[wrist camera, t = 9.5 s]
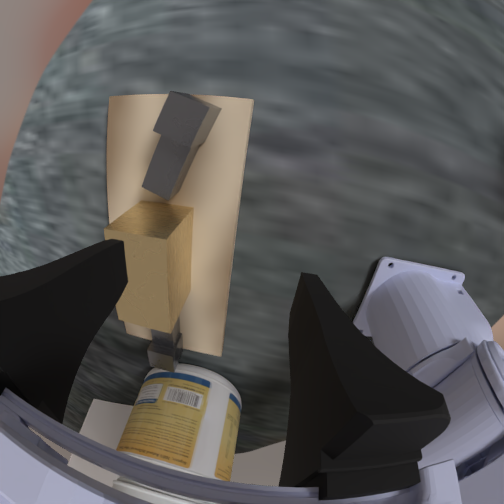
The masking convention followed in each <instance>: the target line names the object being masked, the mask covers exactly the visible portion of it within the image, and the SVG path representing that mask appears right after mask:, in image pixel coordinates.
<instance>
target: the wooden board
mask: <svg viewBox="0 0 504 504" xmlns="http://www.w3.org/2000/svg"><path fill="white" fill-rule="evenodd" d="M168 95H169V94H144V95H124V96H111V97H109V110H108V126H107V193H108V211H109V224H110V223H112V222H113V221H114V220H116V219H117V218H118V217H120V216H121V215H122V214H124V213H125V212H126V211H128V210H129V209H130V208H132V207H133V206H134V205H136V204H137V203H138V202H140V201H141V200H143V201H151V202H158V203H166V204H173V205H180V206H187V207H194V213H193V233H192V259H191V291H190V293H189V295H188V297H187V300H186V302H185V304H184V306H183V308H182V310H181V312H180V315H179V317H180V333H182V338H183V349H188V350H192V351H196V352H201V353H206V354H211V355H215V356H221V355H222V351H223V343H224V333H225V324H226V315H227V306H228V297H229V288H230V279H231V271H232V262H233V254H234V246H235V238H236V230H237V222H238V214H239V206H240V198H241V191H242V183H243V176H244V169H245V161H246V154H247V147H248V140H249V133H250V126H251V119H252V112H253V105H254V100H252V99H244V98H234V97H223V96H210V95H192V96H195V97H197V98H199V99H202V100H204V101H206V102H209V103H211V104H213V105H215V106H218V107H220V108H222V110H221V111H220V113H219V115H218V117H217V119H216V121H215V123H214V125H213V127H212V129H211V131H210V133H209V135H208V137H207V139H206V141H205V142H204V143H201V145H200V147H199V149H198V151H197V153H196V155H195V158H194V160H193V162H192V164H191V166H190V168H189V171H188V173H187V175H186V177H185V180H184V182H183V184H182V187H181V189H180V191H179V192H178V193H177V194H176V195H175V196H173V197H172V198H171V199H170V200H169V201H168V200H166V199H164V198H162V197H160V196H158V195H156V194H154V193H152V192H150V191H148V190H146V189H144V188H142V184H143V181H144V178H145V175H146V173H147V170H148V167H149V165H150V162H151V159H152V157H153V154H154V152H155V149H156V147H157V144H158V142H159V139H160V137H161V134H158V133H156V132H154V131H153V129H154V126H155V124H156V121H157V119H158V117H159V114H160V112H161V110H162V108H163V105H164V103H165V101H166V99H167V97H168ZM124 323H125V327H126V332H127V334H131V335H134V336H138V337H141V338H145V339H148V340H152V334H151V329H150V328H146V327H143V326H139V325H135V324H132V323H128V322H125V321H124Z"/></svg>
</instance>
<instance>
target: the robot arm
mask: <svg viewBox="0 0 504 504" xmlns="http://www.w3.org/2000/svg"><path fill="white" fill-rule="evenodd" d="M389 263H392V265H390V266H388V265H389ZM452 276H453V277H452ZM464 279H465V275H464V274H463V273H462V272H458V271H453V270H448V269H444V268H439V267H434V266H429V265H425V264H420V263H415V262H410V261H405V260H400V259H395V258H390V257H382V258H381V259H380V260H379V262H378V265H377V267H376V270H375V272H374V275H373V277H372V280H371V282H370V284H369V287H368V289H367V291H366V294H365V296H364V298H363V301H362V303H361V305H360V307H359V310H358V312H357V314H356V316H355V318H354V320H353V323H352V321H351V320H350V319H349V318H348V317H347V315H346V314H345V313H344V312H343V310H342V309H341V308H340V306H339V305H338V304H337V302H336V301H335V300H334V298H333V297H332V295H331V294H330V293H329V291H328V290H327V288H326V287H325V285H324V284H323V282H322V281H321V280H320V278H319V277H318V275H315V274H309V273H303V272H301V276H300V280H299V283H298V287H297V290H296V294H295V297H294V301H293V304H292V308H291V311H290V318H289V333H288V338H289V357H290V376H291V396H290V409H289V420H288V429H287V438H286V445H285V453H284V459H283V465H282V471H281V477H280V482H279V487H277V486H263V485H253V484H244V483H236V482H230V481H223V480H218V479H212V478H207V477H202V476H197V475H193V474H189V473H185V472H181V471H177V470H173V469H169V468H166V467H162V466H159V465H156V464H153V463H150V462H147V461H144V460H141V459H138V458H135V457H132V456H130V455H127V454H124V453H122V452H119V451H117V450H114V449H112V448H109V447H107V446H105V445H102V444H100V443H98V442H96V441H94V440H92V439H89V438H87V437H85V436H83V435H81V434H79V433H77V432H75V431H73V430H72V429H70V428H68V427H66V426H64V425H62V423H63V417H64V413H65V409H66V405H67V400H68V397H69V394H70V391H71V387H72V384H73V381H74V379H75V376H76V373H77V371H78V368H79V366H80V364H81V361H82V359H83V357H84V355H85V353H86V351H87V348H88V346H89V344H90V343H91V341H92V339H93V338H94V336H95V335H96V333H97V332H98V330H99V329H100V327H101V326H102V324H103V323H104V321H105V320H106V318H107V317H108V315H109V314H110V313H111V311H112V310H113V308H114V307H115V305H116V304H117V302H118V301H119V299H120V297H121V295H122V293H123V291H124V289H125V287H126V285H127V283H128V275H127V267H126V258H125V249H124V241H122V240H117V239H108V240H105V241H102V242H99V243H97V244H94V245H92V246H89V247H87V248H84V249H82V250H80V251H77V252H75V253H73V254H70V255H68V256H65V257H63V258H60V259H58V260H55V261H53V262H51V263H48V264H45V265H42V266H40V267H36V268H33V269H30V270H27V271H23V272H19V273H15V274H11V275H6V276H1V277H0V504H153V503H150V502H147V501H144V500H142V499H139V498H136V497H134V496H131V495H128V494H126V493H124V492H121V491H119V490H116V489H114V488H112V487H110V486H107V485H105V484H103V483H101V482H99V481H97V480H95V479H93V478H91V477H89V476H87V475H85V474H83V473H81V472H79V471H77V470H75V469H73V468H72V467H70V466H68V465H67V464H68V460H67V459H66V458H64V457H63V456H62V455H60V454H59V453H57V452H56V451H55V450H54V449H52V448H51V447H50V446H49V445H47V444H46V443H45V442H44V441H43V440H42V439H41V438H40V437H39V436H38V435H36V434H35V433H34V432H32V431H31V430H30V429H29V428H28V426H29V427H31V428H32V429H33V430H35V431H36V432H38V433H39V434H41V435H42V436H44V437H45V438H47V439H49V440H50V441H52V442H54V443H55V444H57V445H59V446H60V447H62V448H64V449H66V450H67V451H69V452H71V453H73V454H75V455H76V456H78V457H80V458H82V459H84V460H86V461H88V462H90V463H92V464H94V465H97V466H99V467H101V468H103V469H105V470H108V471H110V472H112V473H115V474H117V475H120V476H122V477H125V478H127V479H130V480H132V481H135V482H138V483H141V484H144V485H147V486H150V487H153V488H156V489H159V490H163V491H166V492H170V493H173V494H177V495H181V496H185V497H189V498H194V499H198V500H203V501H208V502H214V503H220V504H504V350H503V349H502V348H501V347H500V346H499V344H498V343H497V342H495V341H493V334H492V330H491V327H490V325H489V323H488V321H487V320H486V318H485V317H484V315H483V314H482V313H481V311H480V310H479V308H478V307H477V305H476V304H475V303H474V301H473V300H472V299H471V297H470V296H469V294H468V293H467V292H466V290H465V289H464V288H463V287H462V283H463V281H464ZM359 330H361V331H359ZM365 336H371V337H372V338H373V342H374V345H375V346H374V345H373V344H372V343H371V342H370V341H369V340H368V339H367V338H366V337H365Z"/></svg>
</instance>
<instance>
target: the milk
mask: <svg viewBox="0 0 504 504" xmlns="http://www.w3.org/2000/svg"><path fill="white" fill-rule="evenodd" d="M132 409H133V406H131V405H124V404H118V403H113V402H107V401H102V400H97V399H93V401H92V404H91V406H90V408H89V411H88V413H87V416H86V418H85V421H84V423H83V426H82V428H81V431H80V433H79V434H81V435H83V436H85V437H87V438H89V439H92V440H94V441H96V442H98V443H100V444H102V445H105V446H107V447H109V448H112V449H114V450H116V449H117V446H118V444H119V441H120V439H121V436H122V434H123V431H124V429H125V426H126V424H127V421H128V419H129V416H130V414H131V411H132ZM68 466H70V467H72V468H73V469H75V470H77V471H79V472H81V473H83V474H85V475H87V476H89V477H91V478H93V479H95V480H97V481H99V482H101V483H103V484H105V485H107V486H110V487H112V486H113V480H117V478H119V477H120V476H119V475H117V474H115V473H112V472H110V471H108V470H105V469H103V468H101V467H99V466H97V465H94V464H92V463H90V462H88V461H86V460H84V459H82V458H80V457H78V456H76V455H75V454H73V453H72V455H71V457H70V460H69V463H68Z"/></svg>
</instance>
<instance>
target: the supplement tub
mask: <svg viewBox="0 0 504 504" xmlns="http://www.w3.org/2000/svg"><path fill="white" fill-rule="evenodd" d="M241 408H242V404H241V397H240V395H239V393H238V391H237V389H236V388H235V387H234V386H233V385H232V383H230V382H229V381H228V380H227V379H225V378H224V377H222V376H221V375H219V374H217V373H215V372H213V371H211V370H208V369H206V368H202V367H199V366H195V365H190V364H184V363H178V364H177V367H176V370H175V373H173V372H169V371H166V370H162V369H158V368H153V369H152V370H151V371H150V372H149V373H148V374H147V375H146V377H145V379H144V382H143V385H142V387H141V389H140V392H139V394H138V397H137V399H136V401H135V404H134V406H133V409H132V411H131V414H130V416H129V419H128V421H127V424H126V426H125V429H124V431H123V434H122V436H121V439H120V441H119V444H118V446H117V449H116V450H117V451H119V452H122V453H124V454H127V455H130V456H132V457H135V458H138V459H141V460H144V461H147V462H150V463H153V464H156V465H159V466H162V467H166V468H169V469H173V470H177V471H181V472H185V473H189V474H193V475H197V476H202V477H207V478H212V479H218V480H223V481H230V478H231V471H232V465H233V459H234V453H235V446H236V440H237V433H238V427H239V420H240V413H241ZM119 476H120V475H119ZM112 488H114V489H116V490H119V491H121V492H124V493H126V494H128V495H131V496H134V497H136V498H139V499H142V500H144V501H147V502H150V503H153V504H216V503H214V502H208V501H203V500H198V499H194V498H189V497H185V496H181V495H177V494H173V493H170V492H166V491H163V490H159V489H156V488H153V487H150V486H147V485H144V484H141V483H138V482H135V481H132V480H130V479H127V478H125V477H122V476H120V477H119V478H117V480H113V486H112Z"/></svg>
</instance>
